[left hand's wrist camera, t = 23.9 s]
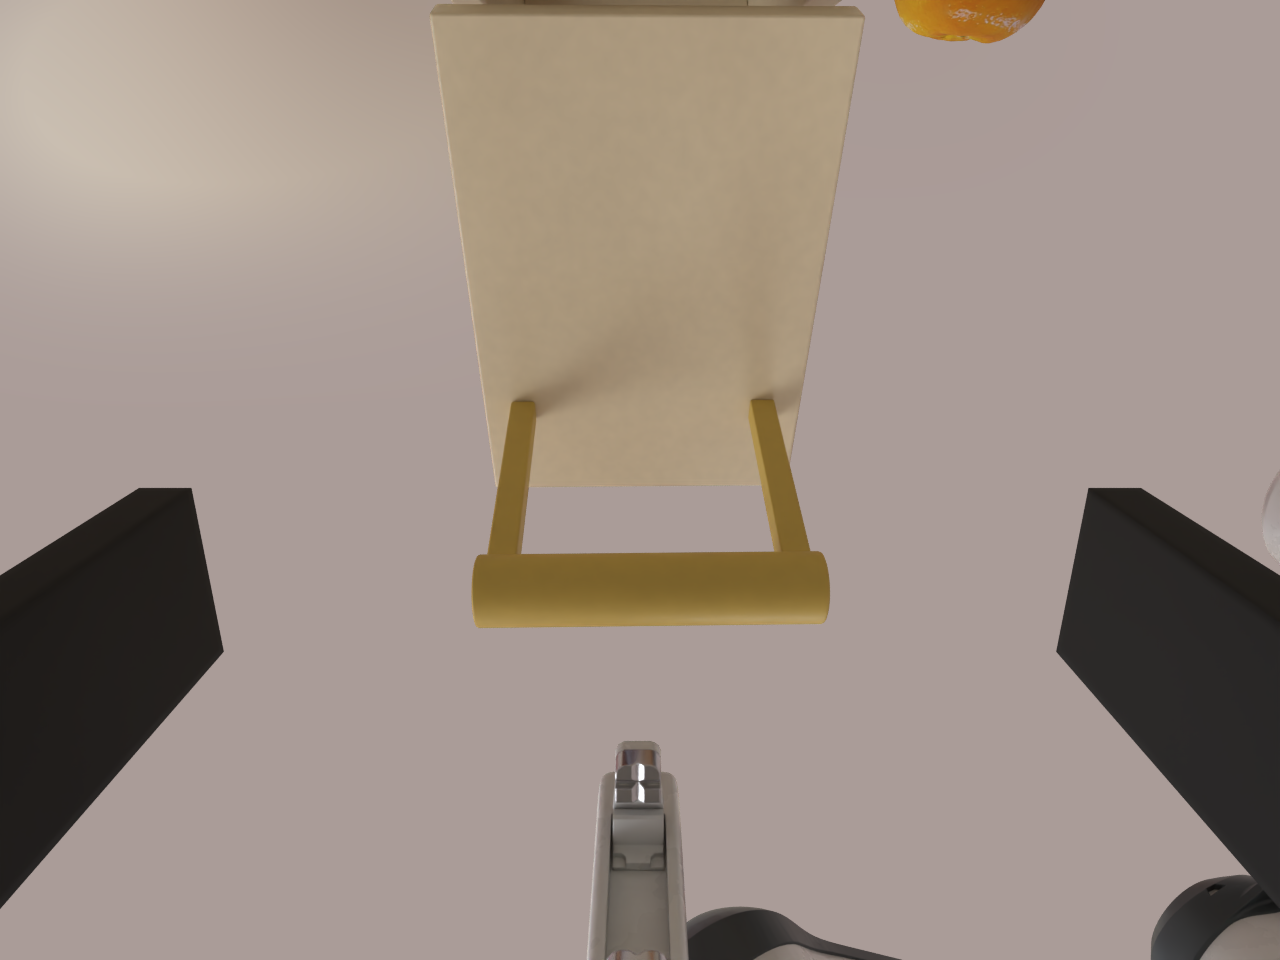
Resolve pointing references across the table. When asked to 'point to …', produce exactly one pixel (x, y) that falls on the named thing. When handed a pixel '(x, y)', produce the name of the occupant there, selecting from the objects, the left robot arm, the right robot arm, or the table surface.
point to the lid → (645, 281)
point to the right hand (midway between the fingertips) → (637, 844)
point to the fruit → (967, 18)
